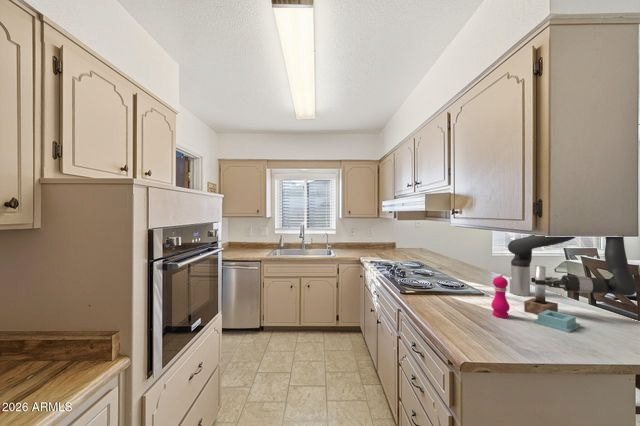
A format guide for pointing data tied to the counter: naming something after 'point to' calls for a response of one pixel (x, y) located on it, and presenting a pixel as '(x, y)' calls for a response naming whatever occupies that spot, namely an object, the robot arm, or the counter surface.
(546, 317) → the socket
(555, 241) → the robot arm
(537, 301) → the axle
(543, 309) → the bore block
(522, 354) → the counter surface
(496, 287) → the pepper mill
